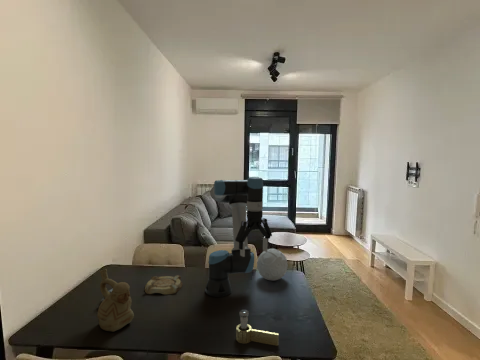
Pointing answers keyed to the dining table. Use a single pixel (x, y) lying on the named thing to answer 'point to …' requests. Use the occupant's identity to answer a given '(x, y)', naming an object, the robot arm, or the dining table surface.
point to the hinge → (256, 336)
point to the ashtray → (163, 285)
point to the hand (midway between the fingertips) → (254, 253)
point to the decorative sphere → (272, 264)
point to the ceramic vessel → (114, 304)
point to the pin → (243, 320)
